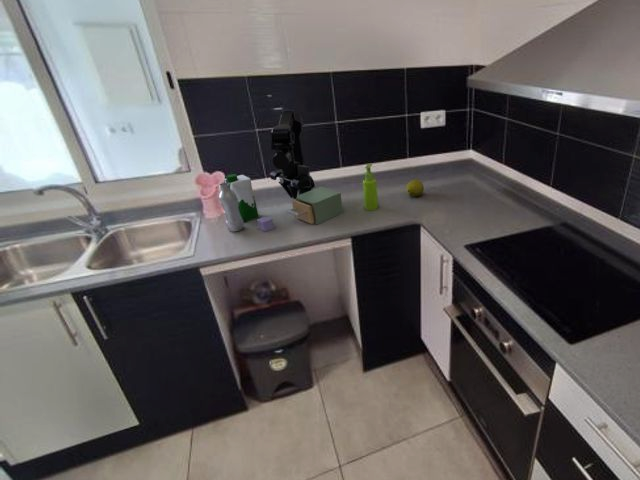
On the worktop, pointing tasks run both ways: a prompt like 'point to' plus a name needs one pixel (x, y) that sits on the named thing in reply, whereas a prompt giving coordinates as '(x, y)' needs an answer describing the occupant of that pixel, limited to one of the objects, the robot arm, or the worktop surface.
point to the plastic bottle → (230, 207)
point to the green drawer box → (323, 203)
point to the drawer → (303, 211)
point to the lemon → (415, 188)
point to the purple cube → (265, 223)
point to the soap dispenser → (370, 190)
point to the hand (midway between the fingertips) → (293, 198)
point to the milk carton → (243, 196)
